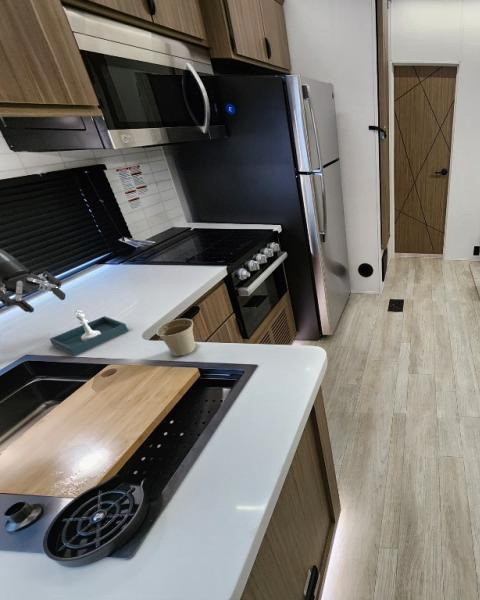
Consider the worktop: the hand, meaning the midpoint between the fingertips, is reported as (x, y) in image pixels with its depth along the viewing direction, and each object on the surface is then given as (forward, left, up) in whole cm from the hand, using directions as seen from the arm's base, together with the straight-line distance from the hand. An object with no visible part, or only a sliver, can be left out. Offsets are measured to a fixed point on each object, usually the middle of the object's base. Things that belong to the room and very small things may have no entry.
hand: (48, 304), depth 105 cm
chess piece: (+2, -11, -11) cm, 16 cm away
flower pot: (+10, -45, -11) cm, 48 cm away
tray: (+2, -11, -11) cm, 16 cm away
